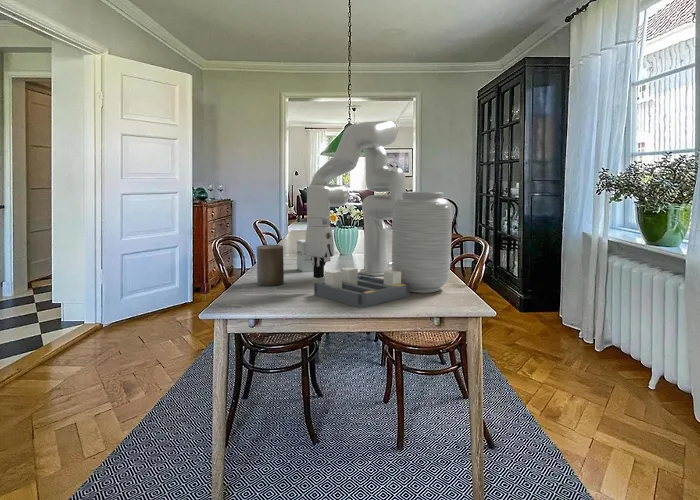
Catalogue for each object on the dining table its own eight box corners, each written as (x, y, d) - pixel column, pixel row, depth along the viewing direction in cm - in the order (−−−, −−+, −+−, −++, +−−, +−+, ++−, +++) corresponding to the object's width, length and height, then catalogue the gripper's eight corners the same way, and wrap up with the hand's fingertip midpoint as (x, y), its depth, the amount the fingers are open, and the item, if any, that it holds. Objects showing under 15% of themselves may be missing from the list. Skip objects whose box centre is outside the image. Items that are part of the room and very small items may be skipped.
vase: (381, 284, 176) (383, 191, 171) (430, 281, 183) (432, 191, 179) (408, 297, 157) (411, 192, 153) (461, 292, 165) (465, 192, 160)
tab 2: (383, 292, 159) (383, 271, 158) (391, 290, 161) (391, 270, 160) (392, 294, 156) (393, 273, 155) (400, 292, 159) (401, 271, 158)
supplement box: (296, 269, 206) (296, 239, 204) (313, 268, 209) (312, 238, 207) (302, 272, 199) (302, 241, 198) (319, 271, 203) (319, 240, 201)
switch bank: (314, 295, 159) (314, 282, 159) (361, 285, 174) (361, 274, 174) (361, 308, 144) (361, 294, 143) (409, 296, 159) (409, 283, 158)
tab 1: (324, 292, 158) (324, 271, 157) (333, 290, 161) (333, 269, 160) (332, 294, 156) (332, 273, 155) (342, 292, 158) (342, 271, 157)
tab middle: (340, 289, 163) (340, 268, 162) (349, 287, 166) (349, 267, 165) (348, 291, 160) (348, 270, 159) (357, 289, 163) (357, 268, 162)
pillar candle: (289, 283, 178) (288, 242, 175) (267, 287, 170) (267, 245, 168) (272, 279, 184) (272, 240, 182) (251, 283, 177) (250, 242, 175)
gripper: (342, 223, 158) (342, 279, 160) (313, 220, 168) (313, 272, 171) (324, 225, 153) (324, 282, 155) (295, 222, 163) (296, 275, 166)
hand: (318, 277), depth 163 cm, fingers closed
